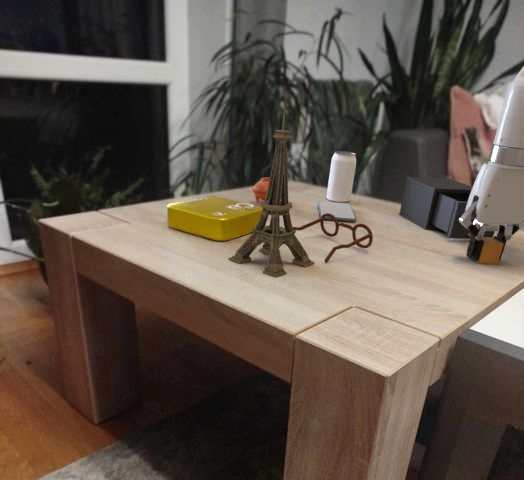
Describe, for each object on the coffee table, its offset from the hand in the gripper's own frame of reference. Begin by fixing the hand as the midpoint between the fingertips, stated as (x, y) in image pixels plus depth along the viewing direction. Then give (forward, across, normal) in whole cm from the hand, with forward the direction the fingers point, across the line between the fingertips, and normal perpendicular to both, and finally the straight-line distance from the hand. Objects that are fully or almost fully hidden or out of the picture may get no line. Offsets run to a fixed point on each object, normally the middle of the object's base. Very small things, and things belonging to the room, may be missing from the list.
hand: (483, 257), depth 96 cm
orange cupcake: (+1, +33, -43) cm, 54 cm away
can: (+1, +12, -49) cm, 50 cm away
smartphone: (0, +18, -34) cm, 38 cm away
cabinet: (0, -5, -28) cm, 28 cm away
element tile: (+1, +49, -20) cm, 53 cm away
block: (0, 0, 0) cm, 0 cm away
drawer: (0, -5, -16) cm, 17 cm away
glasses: (+1, +30, -7) cm, 31 cm away
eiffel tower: (+1, +42, +1) cm, 42 cm away
